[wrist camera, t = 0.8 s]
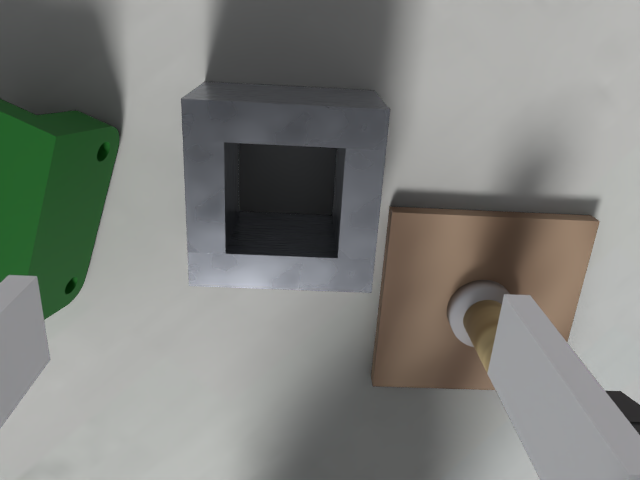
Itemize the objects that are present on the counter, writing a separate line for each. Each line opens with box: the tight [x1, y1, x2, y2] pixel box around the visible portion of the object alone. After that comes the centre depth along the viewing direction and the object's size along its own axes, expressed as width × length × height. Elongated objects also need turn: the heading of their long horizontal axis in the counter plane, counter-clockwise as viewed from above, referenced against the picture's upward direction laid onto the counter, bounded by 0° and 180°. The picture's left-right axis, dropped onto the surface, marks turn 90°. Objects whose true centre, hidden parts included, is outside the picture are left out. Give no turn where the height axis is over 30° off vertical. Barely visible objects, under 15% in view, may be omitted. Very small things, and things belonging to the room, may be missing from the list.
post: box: [371, 207, 600, 390], centre depth 30 cm, size 12×12×9 cm
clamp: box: [0, 99, 119, 320], centre depth 29 cm, size 12×6×9 cm, turn 153°
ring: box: [181, 82, 390, 293], centre depth 28 cm, size 9×9×6 cm
